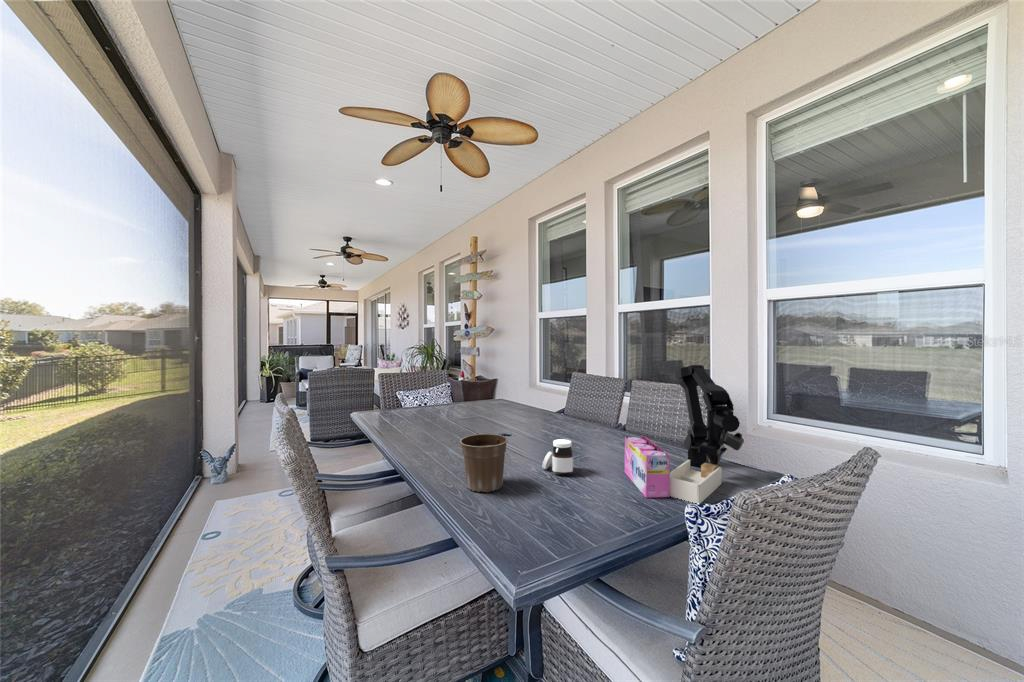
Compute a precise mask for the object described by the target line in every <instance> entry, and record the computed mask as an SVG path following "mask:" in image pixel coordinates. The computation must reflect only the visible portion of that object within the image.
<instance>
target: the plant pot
mask: <svg viewBox="0 0 1024 682" xmlns="http://www.w3.org/2000/svg"><path fill="white" fill-rule="evenodd" d="M459 443H460V445H461V450H462V454H463V458H464V468H465V469H464V471H465V478H466V479H465V480H466V486H467V487H468V488H469V489H470V490H469V489H468V488H467V489H468V490H469V491H471V490H472V492H474V491H477V492H476V493H480V492H483V493H484V492H486V493H491V492H490V491H493V492H496V491H498V490H500V489H501V488H502V487H503V484H504V482H503V481H504V472H505V471H504V467H505V455H506V452H507V443H508V437H507V436H504V435H503V434H497V433H478V434H471V435H467V436H465V437H463V438H461V439H460V440H459ZM495 490H496V491H495Z"/></svg>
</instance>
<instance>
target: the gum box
mask: <svg viewBox="0 0 1024 682" xmlns="http://www.w3.org/2000/svg"><path fill="white" fill-rule="evenodd" d="M670 469H671V456H670V454H669V453H668V452H667V451H666V450H664V449H662V448H661V447H659V446H658V445H657V444H656V443H654V442H653V441H651V439H649V438H648V437H646V436H645V435H639V437H628V436H627V435H625V436H624V473H625V474H626V475H627V477H628V478H629V479H630V480H631V482H632V483H633V484H634V485H635V487H636V488H637V489H638V490H639V491H640V493H641V494H642V495H643V496H644V497H645V498H670V496H669V493H670V472H671V470H670Z"/></svg>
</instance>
